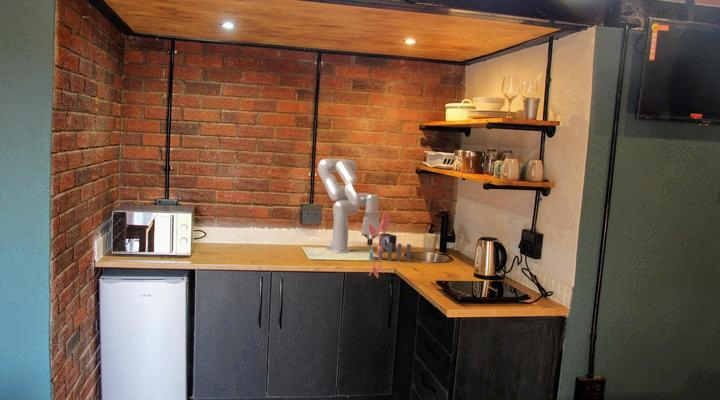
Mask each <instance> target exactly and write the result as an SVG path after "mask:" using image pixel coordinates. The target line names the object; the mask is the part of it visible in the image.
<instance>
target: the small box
mask: <svg viewBox="0 0 720 400" xmlns="http://www.w3.org/2000/svg"><path fill="white" fill-rule="evenodd" d="M379 234H380V235H381V236H382V242H383V250H384V252H386V251H387V252H386V253H388V247H389V243H392V253H395V252H396V251H397V239H398V238H397V235H396V234H391V233H387V232H385V234H383V233H379ZM378 238H379V239H378V241H379V243H378V245H379V244H380V242H381V237H380V236H379V237H378ZM396 253H397V252H396Z"/></svg>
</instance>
